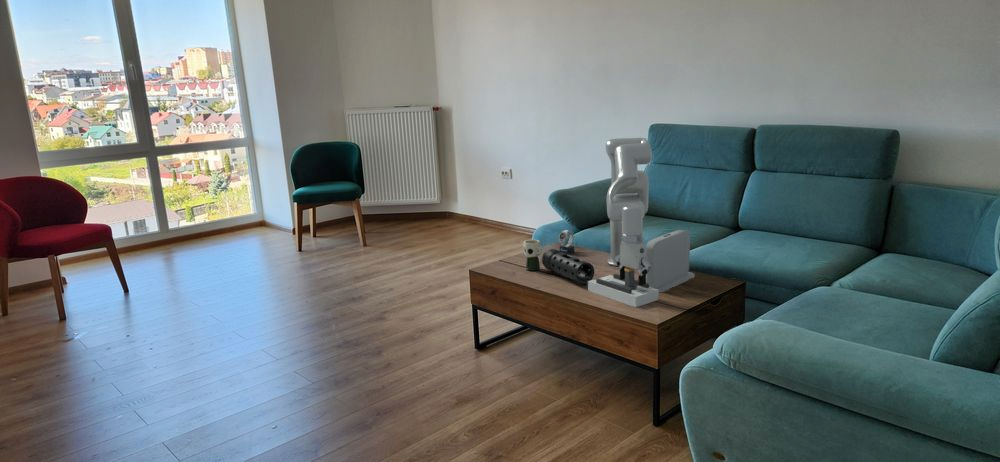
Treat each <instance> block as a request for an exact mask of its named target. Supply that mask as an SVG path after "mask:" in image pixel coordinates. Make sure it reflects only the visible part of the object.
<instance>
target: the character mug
mask: <svg viewBox="0 0 1000 462" xmlns="http://www.w3.org/2000/svg"><path fill="white" fill-rule="evenodd" d="M522 246H523V247H522V248H523V249H522V250H523V254H524V256H525V257H526V263H525V264H526V265H525V270H528V271H537V270H539V269H540V268H541V265H540V259H539V256H540V255H542V247H541V241H540V240H538V239H527V240H524V241H523V244H522Z"/></svg>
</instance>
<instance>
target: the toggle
mask: <svg viewBox="0 0 1000 462" xmlns="http://www.w3.org/2000/svg"><path fill="white" fill-rule="evenodd" d="M635 270H636V269H632V268H628V267H626V268H624V271H625V285H622V286H623V287H627V288H630V289H633V288H636V287H637V285H634V279H635Z"/></svg>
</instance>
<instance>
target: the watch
mask: <svg viewBox="0 0 1000 462" xmlns="http://www.w3.org/2000/svg"><path fill="white" fill-rule="evenodd" d="M568 233H569V234H568ZM568 235H569V237H568ZM557 238H558V239H557V240H558V242H559V245H561V246H559V251H561V252H562V253H565V254H567V255H571V254H575V246H574V245H572V244H573V242H574V240H575V236H574V233H573V231H572V230H568V229H565V230H562V231H561V232H560V233H559V234H558V236H557ZM567 239H568V242H567V244H565V242H566V241H567Z"/></svg>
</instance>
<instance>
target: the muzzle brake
mask: <svg viewBox="0 0 1000 462" xmlns="http://www.w3.org/2000/svg"><path fill="white" fill-rule="evenodd" d="M541 264H542V265H543V266H544V268H545V269H547V270H548V271H550V272H555V275H558V276H559V277H560V276H561V277H562V276H563V277H566V278H567V279H568V280H571V281H572V282H574V283H576V284H579V285H582V286H587V285H588V281H591V280H593V278H594V276H595V268H594V265H593V264H592V263H590V262H587V261H585V260H583V259H580V258H578V257H575V256H572V255H571V254H565V253H562V252H561V251H560V249H559V250H558V249H556V248H552V249H551V248H550V249H547V250H546V251H544V253H542V255H541Z"/></svg>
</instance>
